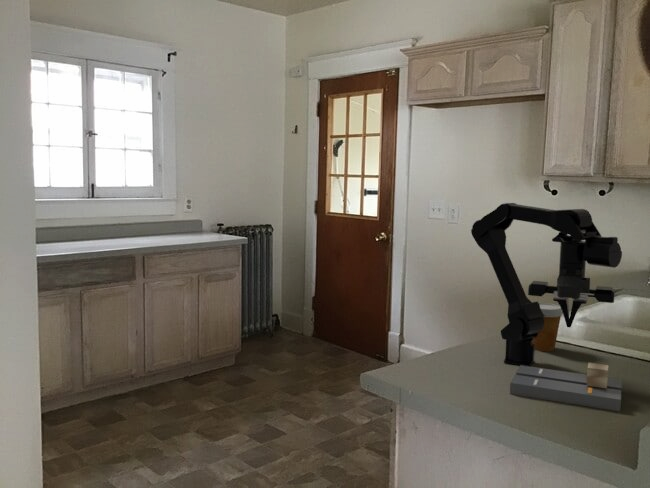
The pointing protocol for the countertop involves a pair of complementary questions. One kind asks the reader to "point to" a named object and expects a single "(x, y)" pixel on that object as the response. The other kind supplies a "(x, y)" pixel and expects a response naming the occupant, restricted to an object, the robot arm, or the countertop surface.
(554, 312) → the disposable coffee cup
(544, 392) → the fader console
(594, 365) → the fader knob
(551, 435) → the countertop surface
